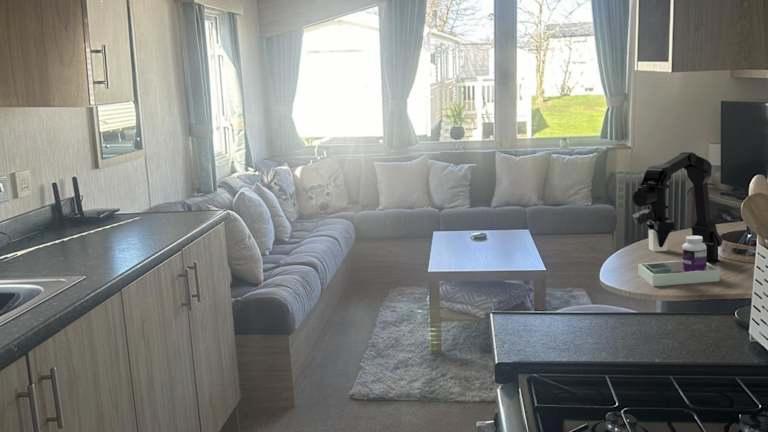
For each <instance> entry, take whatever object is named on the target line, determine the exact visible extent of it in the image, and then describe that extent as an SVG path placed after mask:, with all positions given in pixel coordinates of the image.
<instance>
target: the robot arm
mask: <svg viewBox="0 0 768 432" xmlns="http://www.w3.org/2000/svg"><path fill="white" fill-rule="evenodd" d="M682 169H683V170H685V171H686V175H687V178H688V180H689V181H690V182H691V184H692V188H693V194H694V195H693V196H694V205H695V206H694V207H695V216H696V217H695V218H696V221H695V223H694V224H693V225H692V226H691V231H692V232H691V233H692V234H691V236H702V237H703V241H702V243H704V244H705V245H706V247H707V263H716V262H717V263H718V262H721V259H719V248H720V247H721V246H722V245H723V241H724V240H723V238H722V236H721V235H720V234H719V233H718V230H717V225H716V224H715V222H714V221H713V220H712V218H711V207H710V196H709V195H710V194H709V186H708V184H709V183H708V182H709V180H710V178H711V177H712V169H713V166H712V163H711V162H710V161H709V159H708V160H707V159H706V158H704V157H701V156H699V155H697V154H696V152H693V151H692V152H691V151H682V152H680V153H679V154H678V155H676V156H675V157H673V158H671V159H669V160H667V161H666V162H664V163H662V164H657V165H656V164H655V165H651V166H649V167H648V168H647V169H646V171H645V172H644V175H643V177H642V180H641V182H640V185H639V186H638V187H637V190H636V191H635V192H634V193H633V196H632V202H633V203H634V204H635V206H637V207H638V208H642V207H645V206H646V208H645V209H643V210H640V211H639V212H636V213H633V214H632V215H631V216H632V218H633V221H634V224H636V225H637V226H640V225H643V224H644V225H645V226H646V227H647V228H648V230H649V229H653V230H654V231H655V232H656V233H657V238H658V244H659V247H663V245H664V243H665V241H666V239H668V238H669V235H670V233H671V232H672V231H675V230H676V222H674V221H672V220H669V216H667V209H669V205H668V204H667V189H670V187H671V186H670V185H669V184H667V183H668V182H669V181H670V180H671V179H672V176H673V175H674V174H675V173H677V172H679V171H680V170H682Z"/></svg>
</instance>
